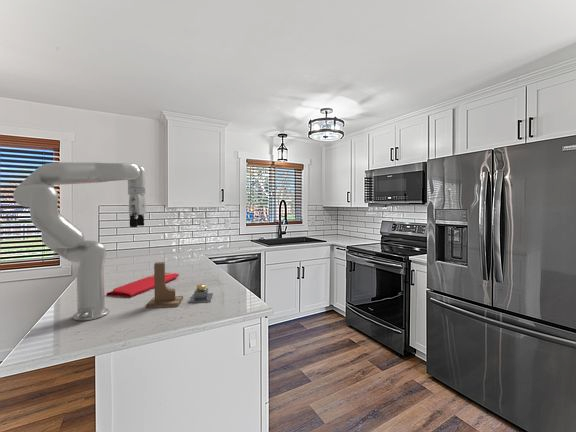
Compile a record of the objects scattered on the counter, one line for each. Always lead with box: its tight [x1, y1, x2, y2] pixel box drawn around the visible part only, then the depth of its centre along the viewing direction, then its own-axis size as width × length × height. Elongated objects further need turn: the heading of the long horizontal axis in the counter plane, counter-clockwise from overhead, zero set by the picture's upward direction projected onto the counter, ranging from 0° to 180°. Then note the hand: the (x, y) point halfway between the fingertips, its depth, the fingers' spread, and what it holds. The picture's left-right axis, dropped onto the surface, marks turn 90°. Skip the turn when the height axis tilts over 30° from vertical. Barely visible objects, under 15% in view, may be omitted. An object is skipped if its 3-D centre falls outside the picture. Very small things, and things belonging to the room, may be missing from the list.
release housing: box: [188, 287, 214, 304], centre depth 146 cm, size 12×10×4 cm
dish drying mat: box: [106, 272, 180, 299], centre depth 168 cm, size 16×41×4 cm, turn 167°
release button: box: [196, 283, 207, 291], centre depth 145 cm, size 4×4×2 cm
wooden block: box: [153, 261, 176, 302], centre depth 138 cm, size 9×4×18 cm, turn 112°
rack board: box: [145, 295, 184, 309], centre depth 139 cm, size 11×14×2 cm
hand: (137, 226), depth 144 cm, fingers open, 9 cm apart
